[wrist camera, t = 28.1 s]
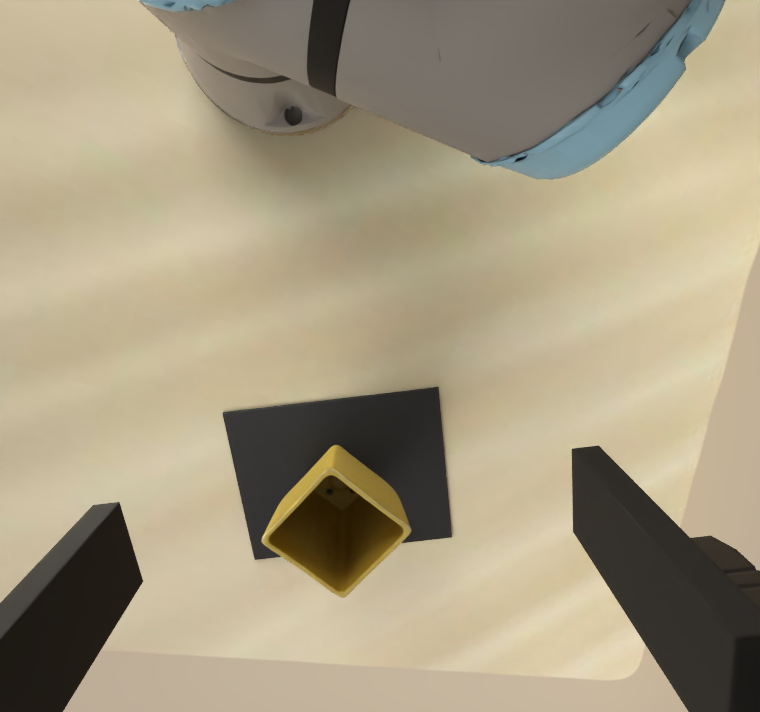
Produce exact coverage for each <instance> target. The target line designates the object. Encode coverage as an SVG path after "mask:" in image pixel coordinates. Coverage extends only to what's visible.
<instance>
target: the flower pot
mask: <svg viewBox="0 0 760 712" xmlns="http://www.w3.org/2000/svg"><path fill="white" fill-rule="evenodd" d="M350 488H351V489H353V490H354V492H352V491H351V490H350ZM327 489H332V490H333V492H332V493H327ZM410 533H411V528H410V525H409V522H408V519H407V517H406V514H405V511H404V509H403V506H402V503H401V501H400V499H399V497H398V495H397V493H396V492H395V491H394V489H393V488H392V487H391V486H390V485H389V484H388V483H387V482H386V481H384V480H383V479H382V478H381V477H379V476H378V475H377V474H375V473H374V472H373V471H371V470H370V469H369V468H367V467H366V466H365V465H364V464H362V463H361V462H360V461H358V460H357V459H356V458H355V457H353V456H352V455H351V454H349V453H348V452H347V451H346V450H345V449H343V448H342V447H341V446H339V445H334V446H332V447H331V448H330V449H329V450H328V451H327V452H326V453H325V454H324V455H323V456H322V458H321V459H320V460H319V461H318V462H317V463H316V464H315V465H314V466H313V467H312V468H311V470H310V471H309V472H308V473H307V474H306V475H305V476H304V477H303V478H302V479H301V480H300V481H299V482H298V483H297V484H296V485H295V486H294V487H293V488H292V489H291V490H290V491H289V492H288V493H287V495H286V496H285V497H284V498H283V499H282V501H281V502H280V504H279V505H278V507H277V509H276V511H275V513H274V515H273V517H272V519H271V521H270V523H269V525H268V527H267V529H266V531H265V533H264V535H263V537H262V543H263V544H264V545H265V546H266V547H268V548H269V549H271V550H272V551H274V552H275V553H277V554H278V555H280V556H281V557H283V558H284V559H286V560H287V561H289V562H290V563H292V564H294V565H295V566H297V567H298V568H300V569H301V570H303V571H304V572H305V573H307V574H308V575H309V576H311V577H312V578H314V579H315V580H316V581H317V582H319V583H320V584H321V585H323V586H324V587H326V588H327V589H328V590H330V591H331V592H332V593H334V594H336V595H338V596H340V597H342V598H344V597H346V596H347V595H348V594H349V593H350V592H351V591H352V590H353V589H354V588H355V587H356V586H357V585H358V584H360V583H361V581H362V580H363V579H364V578H365V577H366V576H367V575H368V574H369V573H370V572H372V571H373V570H374V569H375V568H376V567H377V566H378V565H379V564H380V563H381V562H382V561H383V560H384V559H385V558H386V557H387V556H388V555H389V554H390V553H391V552H392V551H393V550H394V549H395V548H396V547H397V546H398V545H399V544H400V543H401V542H403V541H404V540H405V539H406V537H407V536H408V535H409V534H410Z"/></svg>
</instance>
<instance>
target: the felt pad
mask: <svg viewBox="0 0 760 712" xmlns="http://www.w3.org/2000/svg"><path fill="white" fill-rule="evenodd" d="M223 417H224V422H225V426H226V431H227V435H228V440H229V444H230V449H231V454H232V458H233V463H234V467H235V472H236V476H237V481H238V485H239V490H240V495H241V499H242V504H243V508H244V513H245V517H246V522H247V527H248V531H249V536H250V540H251V545H252V549H253V554H254V558H255V560H257V559H266V558H275V557H281V556H280V555H278V554H277V553H275V552H274V551H272V550H271V549H269V548H268V547H266V546H265V545H264V544H263V543H262V537H263V535H264V533H265V531H266V529H267V527H268V525H269V523H270V521H271V519H272V517H273V515H274V513H275V511H276V509H277V507H278V505H279V504H280V502H281V501H282V499H283V498H284V497H285V496H286V495H287V493H288V492H289V491H290V490H291V489H292V488H293V487H294V486H295V485H296V484H297V483H298V482H299V481H300V480H301V479H302V478H303V477H304V476H305V475H306V474H307V473H308V472H309V471H310V470H311V468H312V467H313V466H314V465H315V464H316V463H317V462H318V461H319V460H320V459H321V458H322V456H323V455H324V454H325V453H326V452H327V451H328V450H329V449H330V448H331V447H332V446H334V445H339V446H341V447H342V448H343V449H345V450H346V451H347V452H348V453H349V454H351V455H352V456H353V457H355V458H356V459H357V460H358V461H360V462H361V463H362V464H364V465H365V466H366V467H367V468H369V469H370V470H371V471H373V472H374V473H375V474H377V475H378V476H379V477H381V478H382V479H383V480H384V481H386V482H387V483H388V484H389V485H390V486H391V487H392V488H393V489H394V491H395V492H396V493H397V495H398V497H399V499H400V501H401V503H402V506H403V509H404V511H405V514H406V517H407V519H408V522H409V525H410V528H411V533H410V534H409V535H408V536H407V537H406V539H405V540H404V541H403V542H401V543H406V542H414V541H423V540H432V539H441V538H449V537H452V533H451V522H450V511H449V500H448V489H447V478H446V467H445V456H444V445H443V434H442V423H441V412H440V401H439V390H438V387H436V388H428V389H419V390H411V391H402V392H394V393H385V394H377V395H368V396H360V397H351V398H343V399H334V400H326V401H317V402H309V403H300V404H292V405H284V406H275V407H267V408H258V409H250V410H241V411H233V412H224V413H223ZM350 490H351V491H352V492H354V490H353V489H351V488H350ZM332 492H333V490H332V489H327V493H332Z"/></svg>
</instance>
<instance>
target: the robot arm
mask: <svg viewBox="0 0 760 712" xmlns="http://www.w3.org/2000/svg"><path fill="white" fill-rule="evenodd" d="M138 1H139V2H140V3H141V4H142V5H143V6H145V7H146V8H147V9H148V10H149V11H150V12H151V13H152V14H153V15H154V16H156V17H157V18H158V19H159V20H160V21H161V22H162V23H163V24H164V25H165V26H167V27H168V28H169V29H170V31H172V32H173V33H174V34H175V37H176V41H177V44H178V47H179V50H180V53H181V55H182V57H183V60H184V62H185V64H186V66H187V68H188V70H189V71H190V73H191V75H192V76H193V78H194V80H195V81H196V83H197V84H198V86H199V87H200V88H201V90H202V91H203V92H204V93H205V95H206V96H207V97H208V98H209V99H210V100H211V101H212V102H213V103H214V104H215V105H216V106H217V107H218V108H220V109H221V110H222V111H223V112H225V113H226V114H227V115H229V116H230V117H232V118H233V119H234V120H236V121H238V122H239V123H241V124H243V125H245V126H247V127H249V128H251V129H254V130H256V131H259V132H262V133H267V134H271V135H278V136H297V135H304V134H309V133H312V132H315V131H319V130H321V129H323V128H325V127H328V126H329V125H331V124H333V123H335V122H336V121H338V120H339V119H340V118H342V117H343V116H344V115H345V114H347V113H348V112H349V111H350V110H351V109H352V108H353V107H354V106H355V107H358V108H360V109H362V110H365V111H367V112H369V113H372V114H374V115H377V116H379V117H381V118H384V119H386V120H388V121H391V122H393V123H396V124H398V125H400V126H403V127H405V128H407V129H410V130H412V131H414V132H417V133H419V134H422V135H424V136H426V137H429V138H431V139H433V140H436V141H438V142H441V143H443V144H445V145H448V146H450V147H452V148H455V149H457V150H460V151H462V152H464V153H467V154H469V155H470V156H471V157H472V158H473V159H474V160H475V161H477V162H479V163H481V164H483V165H490V166H492V167H496V166H501V167H504V168H507V169H509V170H512V171H515V172H518V173H521V174H523V175H526V176H529V177H532V178H535V179H559V178H563V177H566V176H569V175H572V174H575V173H577V172H579V171H581V170H583V169H585V168H587V167H589V166H590V165H592V164H594V163H595V162H597V161H598V160H600V159H601V158H603V157H604V156H605V155H607V154H608V153H609V152H611V151H612V150H613V149H614V148H615V147H617V146H618V145H619V144H620V143H621V142H622V141H624V140H625V139H626V138H627V137H628V136H629V135H630V134H631V133H632V132H633V131H634V130H635V129H636V128H637V127H638V126H639V125H640V124H641V123H642V122H643V121H644V120H645V119H646V118H647V117H648V116H649V115H650V114H651V113H652V112H653V111H654V110H655V108H656V107H657V106H658V105H659V104H660V103H661V101H662V100H663V99H664V98H665V97H666V95H667V94H668V93H669V92H670V90H671V89H672V88H673V86H674V85H675V84H676V82H677V81H678V80H679V79H680V77H681V76H682V74H683V73H684V71H685V70H686V67H685V63H684V61H685V58H686V57H687V56H688V55H689V54H690V53H691V52H692V51H693V50H694V49H695V48H696V47H698V46H699V45H700V44H701V43H702V42H704V41H705V40H706V38H707V36H708V34H709V32H710V31H711V29H712V27H713V25H714V24H715V22H716V20H717V18H718V16H719V14H720V12H721V10H722V7H723V5H724V2H725V0H138ZM572 487H573V532H574V534H575V535H576V537H577V538H578V540H579V541H580V543H581V545H582V546H583V548H584V549H585V551H586V552H587V554H588V555H589V557H590V559H591V560H592V562H593V563H594V565H595V566H596V568H597V570H598V571H599V573H600V574H601V576H602V577H603V579H604V580H605V582H606V584H607V585H608V587H609V588H610V590H611V591H612V593H613V594H614V596H615V598H616V599H617V601H618V602H619V604H620V605H621V607H622V609H623V610H624V612H625V613H626V615H627V616H628V618H629V619H630V621H631V623H632V624H633V626H634V627H635V629H636V630H637V632H638V633H639V635H640V637H641V638H642V640H643V641H644V643H645V644H646V646H647V647H648V649H649V651H650V652H651V654H652V655H653V657H654V658H655V660H656V662H657V663H658V664H659V666H660V668H661V669H662V671H663V672H664V674H665V675H666V677H667V679H668V680H669V681H670V683H671V685H672V686H673V688H674V690H675V691H676V693H677V694H678V696H679V697H680V699H681V701H682V702H683V704H684V705H685V707H686V708H687V710H688V711H689V712H760V571H759V570H756V569H755V566H754V565H752V564H751V563H750V562H749V561H748V560H747V559H746V558H745V557H744V556H743V555H741V554H740V553H739V552H738V551H737V550H736V549H734V548H732V547H730V546H729V545H727V544H725V543H723V542H721V541H719V540H718V539H716V538H714V537H712V536H704V537H696V538H689V537H688V536H687V534H686V533H685V532H684V531H683V530H682V529H681V528H680V527H679V526H678V525H677V524H676V523H675V522H674V521H673V520H672V519H671V518H670V517H669V516H668V515H667V514H666V513H665V512H664V511H663V510H662V509H661V508H660V507H659V506H658V505H657V504H656V503H655V502H654V501H653V500H652V499H651V498H650V497H649V496H648V495H647V494H646V493H645V492H644V491H643V490H642V489H641V488H640V487H639V486H638V485H637V484H636V483H635V482H634V481H633V480H632V479H631V478H630V477H629V476H628V475H627V474H626V473H625V472H624V471H623V470H622V469H621V468H620V467H619V466H618V465H617V464H616V463H615V462H614V461H613V460H612V459H611V458H610V457H609V456H608V455H607V454H606V453H605V452H604V451H603V450H602V449H601V448H600V447H599V446H592V447H583V448H575V449H572ZM142 582H143V580H142V576H141V573H140V570H139V566H138V563H137V560H136V556H135V553H134V550H133V546H132V543H131V540H130V536H129V533H128V530H127V526H126V523H125V520H124V516H123V513H122V510H121V506H120V503H119V502H117V503H108V504H100V505H93V506H92V507H91V508H90V509H89V510H88V511H87V512H86V513H85V514H84V516H83V517H82V518H81V519H80V520H79V521H78V522H77V523H76V524H75V525H74V526H73V527H72V528H71V529H70V530H69V531H68V532H67V533H66V534H65V536H64V537H63V538H62V539H61V540H60V541H59V542H58V543H57V544H56V545H55V546H54V547H53V548H52V549H51V550H50V551H49V552H48V553H47V555H46V556H45V557H44V558H43V559H42V560H41V561H40V562H39V563H38V564H37V565H36V566H35V567H34V568H33V569H32V570H31V571H30V572H29V574H28V575H27V576H26V577H25V578H24V579H23V580H22V581H21V582H20V583H19V584H18V585H17V586H16V587H15V588H14V589H13V590H12V591H11V592H10V594H9V595H8V596H7V597H6V598H5V599H4V600H3V601H2V602H1V603H0V712H63V710H64V709H65V707H66V705H67V704H68V702H69V700H70V699H71V697H72V696H73V694H74V692H75V691H76V689H77V687H78V686H79V684H80V683H81V681H82V679H83V678H84V676H85V675H86V673H87V671H88V670H89V668H90V666H91V665H92V663H93V662H94V660H95V658H96V657H97V655H98V654H99V652H100V650H101V649H102V647H103V645H104V644H105V642H106V641H107V639H108V637H109V636H110V634H111V632H112V631H113V629H114V628H115V626H116V624H117V623H118V621H119V620H120V618H121V616H122V615H123V613H124V611H125V610H126V608H127V607H128V605H129V603H130V602H131V600H132V598H133V597H134V595H135V594H136V592H137V590H138V589H139V587H140V585H141V584H142Z"/></svg>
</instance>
